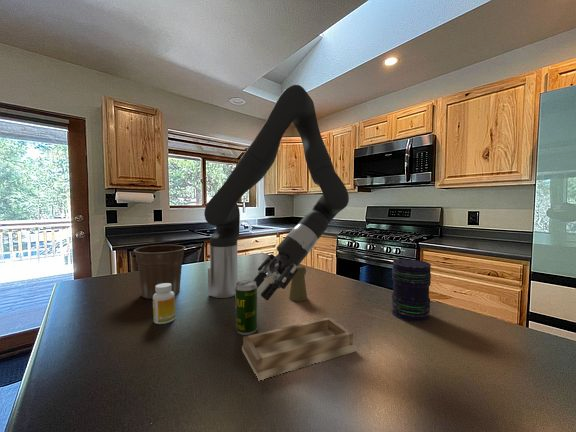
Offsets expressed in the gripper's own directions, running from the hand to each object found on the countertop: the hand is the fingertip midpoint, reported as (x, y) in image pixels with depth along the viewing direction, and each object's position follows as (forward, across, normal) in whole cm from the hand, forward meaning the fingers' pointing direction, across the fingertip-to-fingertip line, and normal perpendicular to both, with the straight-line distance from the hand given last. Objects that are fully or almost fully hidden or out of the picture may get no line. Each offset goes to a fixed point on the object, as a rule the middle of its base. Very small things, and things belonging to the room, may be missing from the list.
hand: (257, 292), depth 67 cm
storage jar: (-22, +12, +36) cm, 44 cm away
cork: (-7, -14, +20) cm, 25 cm away
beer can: (+9, 0, +4) cm, 10 cm away
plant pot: (+22, -39, -9) cm, 46 cm away
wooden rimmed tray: (+3, +14, +10) cm, 17 cm away
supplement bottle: (+22, -16, -9) cm, 28 cm away
